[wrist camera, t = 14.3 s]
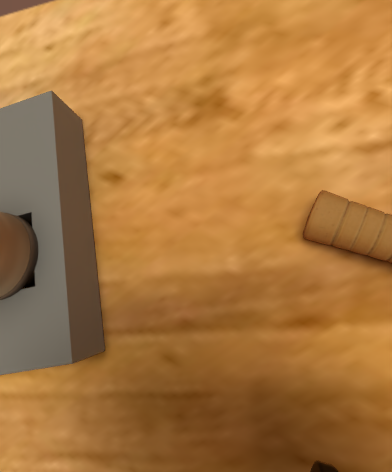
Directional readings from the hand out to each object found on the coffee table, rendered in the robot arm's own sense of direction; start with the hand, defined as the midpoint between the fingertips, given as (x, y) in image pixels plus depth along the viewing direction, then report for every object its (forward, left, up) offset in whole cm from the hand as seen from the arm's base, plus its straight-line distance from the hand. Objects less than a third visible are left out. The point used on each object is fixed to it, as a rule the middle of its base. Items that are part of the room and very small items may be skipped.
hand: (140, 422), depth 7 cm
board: (+10, +14, -11) cm, 20 cm away
